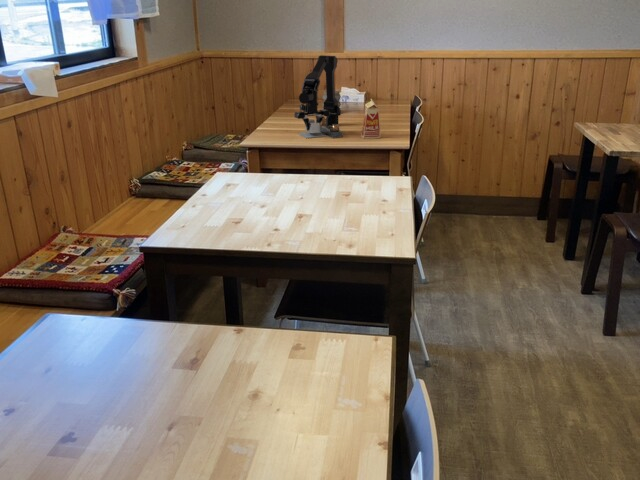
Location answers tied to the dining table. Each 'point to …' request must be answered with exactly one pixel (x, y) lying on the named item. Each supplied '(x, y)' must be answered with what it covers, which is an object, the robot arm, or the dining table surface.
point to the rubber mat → (312, 135)
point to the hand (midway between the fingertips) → (312, 129)
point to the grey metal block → (313, 126)
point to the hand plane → (330, 129)
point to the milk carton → (371, 121)
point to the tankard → (337, 96)
